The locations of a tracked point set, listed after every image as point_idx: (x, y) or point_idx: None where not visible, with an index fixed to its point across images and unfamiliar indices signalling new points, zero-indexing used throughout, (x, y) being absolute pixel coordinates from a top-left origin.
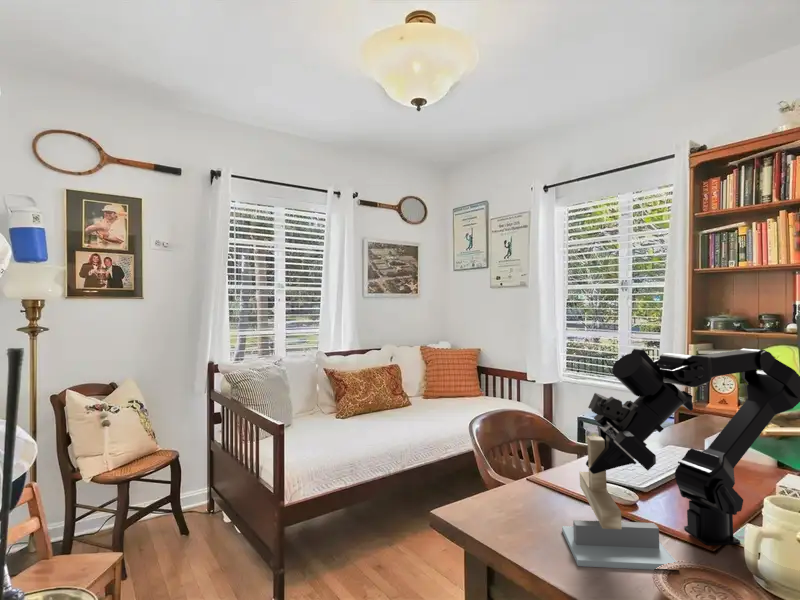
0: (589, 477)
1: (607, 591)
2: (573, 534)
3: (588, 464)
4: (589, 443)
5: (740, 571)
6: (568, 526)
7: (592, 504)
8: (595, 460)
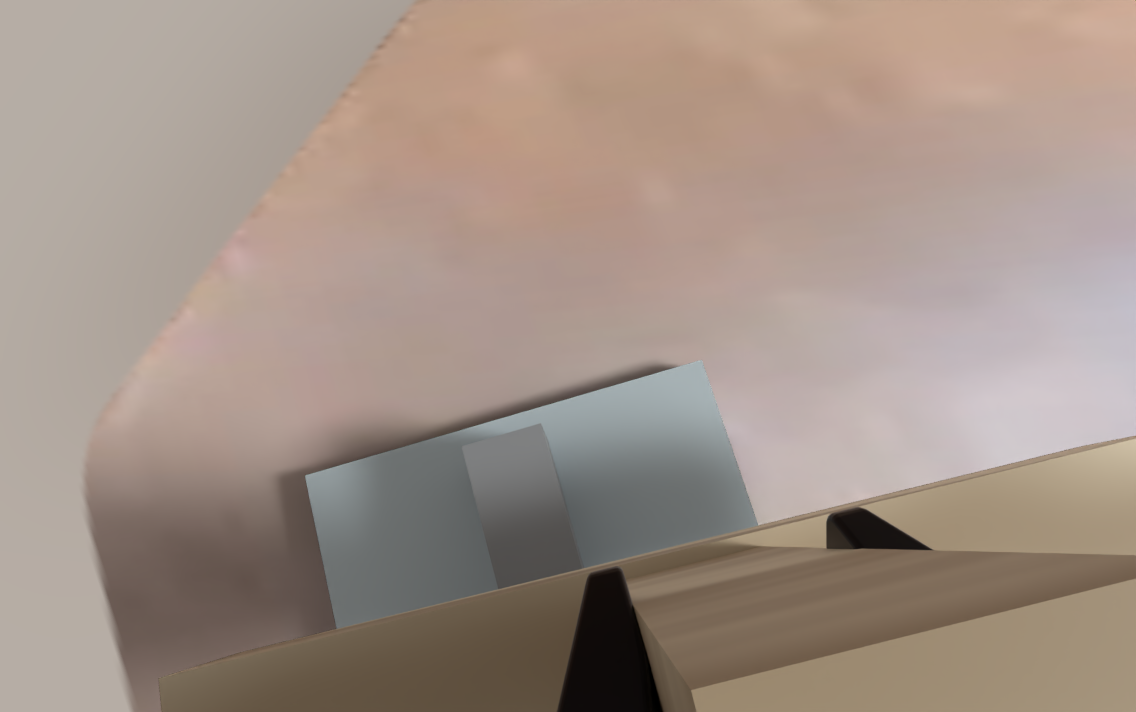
0: (756, 555)
1: (131, 632)
2: (611, 435)
3: (831, 550)
4: (787, 630)
5: None
6: (711, 399)
7: (574, 572)
8: (629, 703)
